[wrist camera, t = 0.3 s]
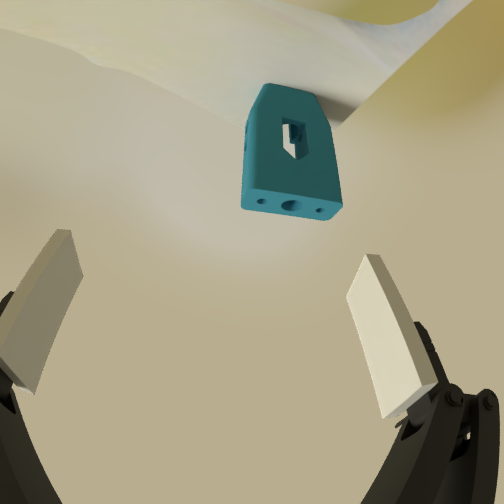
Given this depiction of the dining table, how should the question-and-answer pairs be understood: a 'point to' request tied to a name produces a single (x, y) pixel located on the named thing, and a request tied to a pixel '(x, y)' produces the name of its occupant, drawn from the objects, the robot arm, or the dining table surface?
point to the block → (289, 157)
